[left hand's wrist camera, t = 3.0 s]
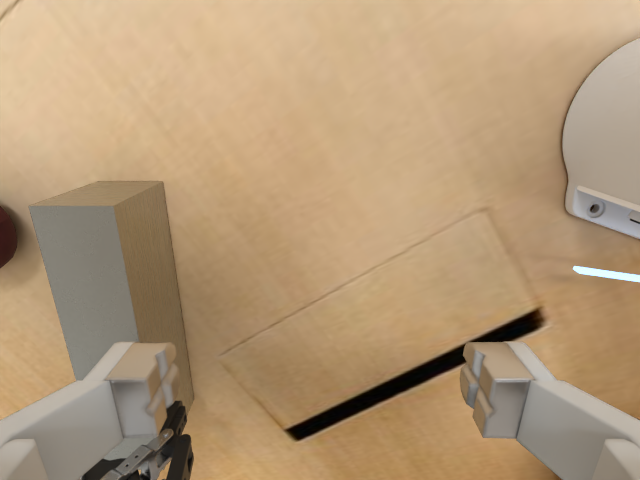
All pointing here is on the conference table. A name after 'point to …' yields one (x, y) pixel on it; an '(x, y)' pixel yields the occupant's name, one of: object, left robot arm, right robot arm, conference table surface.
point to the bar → (113, 276)
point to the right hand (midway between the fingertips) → (147, 407)
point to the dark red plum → (6, 238)
